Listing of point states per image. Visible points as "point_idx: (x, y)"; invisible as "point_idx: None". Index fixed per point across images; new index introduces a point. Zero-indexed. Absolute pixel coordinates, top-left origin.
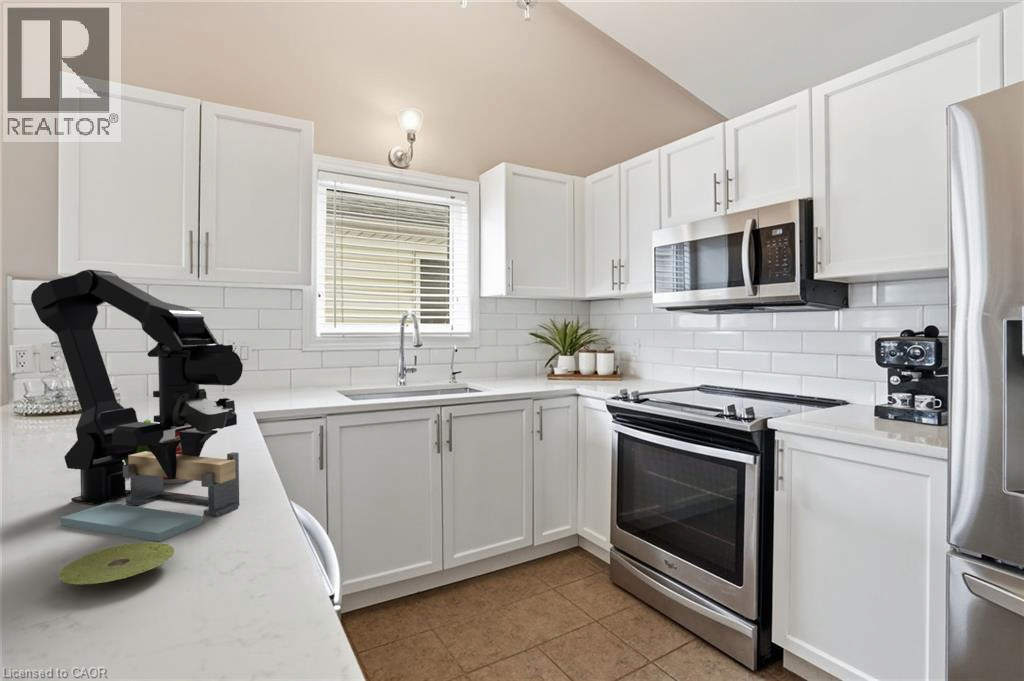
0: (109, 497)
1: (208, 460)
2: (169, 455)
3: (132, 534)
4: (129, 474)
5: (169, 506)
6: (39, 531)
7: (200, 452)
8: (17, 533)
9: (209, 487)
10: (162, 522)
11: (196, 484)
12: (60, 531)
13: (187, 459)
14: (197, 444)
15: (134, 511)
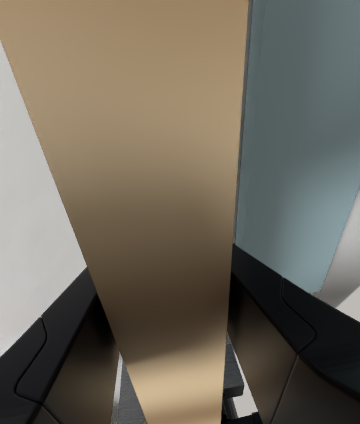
0: None
1: (130, 15)
2: (335, 309)
3: None
4: (230, 353)
5: None
6: (335, 278)
7: (36, 324)
8: (343, 293)
9: None
10: (352, 27)
11: (32, 309)
12: (335, 254)
13: (188, 257)
14: (40, 406)
15: (272, 212)
